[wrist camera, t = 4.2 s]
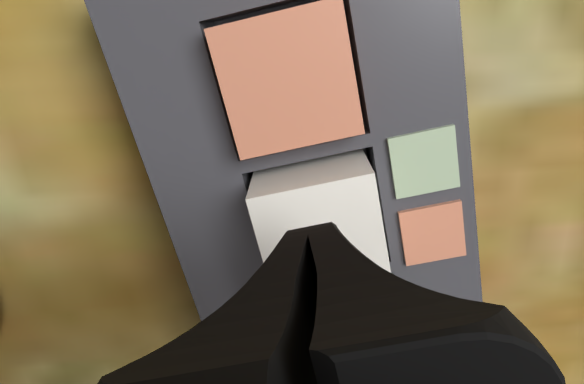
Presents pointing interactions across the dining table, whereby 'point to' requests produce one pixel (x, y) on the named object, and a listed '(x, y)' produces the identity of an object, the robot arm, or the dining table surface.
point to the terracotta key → (287, 78)
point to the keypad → (238, 173)
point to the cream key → (319, 202)
